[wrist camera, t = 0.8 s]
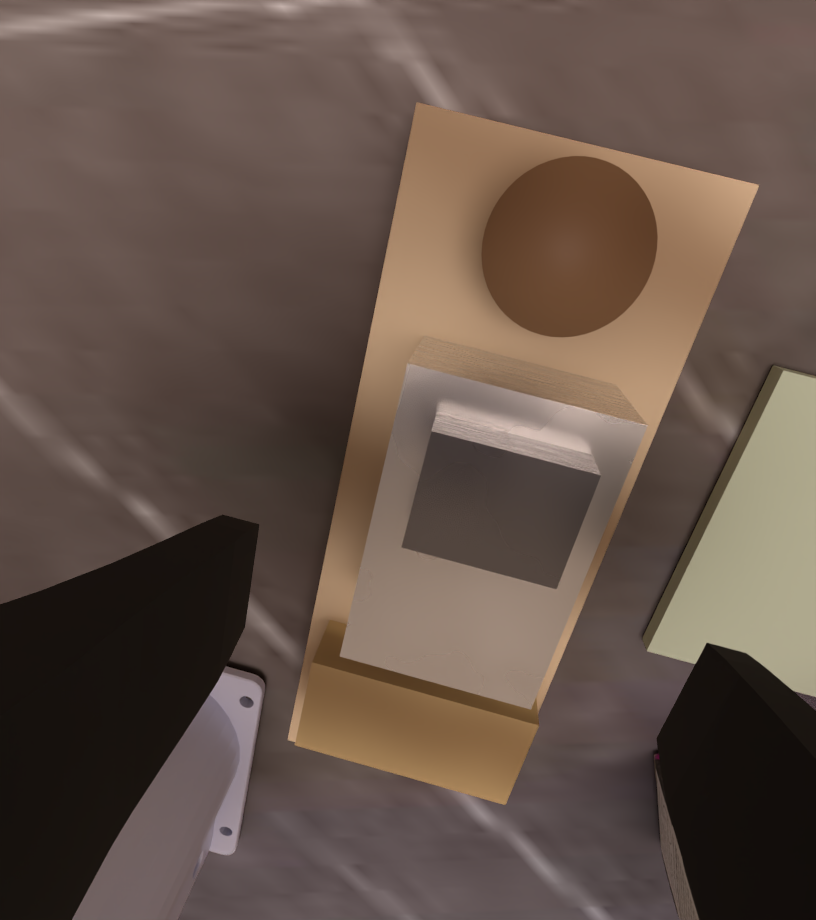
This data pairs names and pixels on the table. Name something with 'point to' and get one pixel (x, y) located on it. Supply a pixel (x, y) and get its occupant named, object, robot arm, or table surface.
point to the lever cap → (487, 518)
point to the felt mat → (754, 546)
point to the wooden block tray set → (517, 336)
